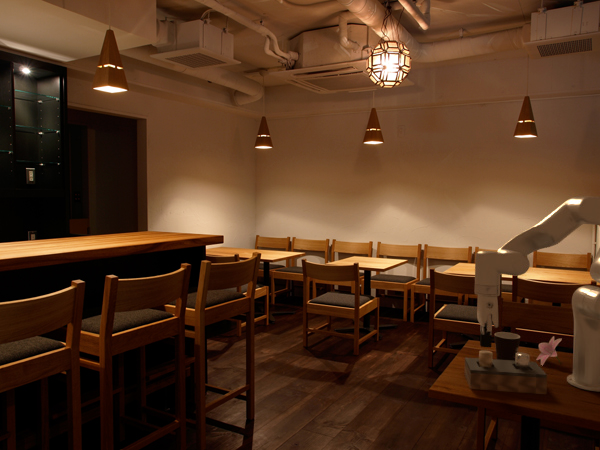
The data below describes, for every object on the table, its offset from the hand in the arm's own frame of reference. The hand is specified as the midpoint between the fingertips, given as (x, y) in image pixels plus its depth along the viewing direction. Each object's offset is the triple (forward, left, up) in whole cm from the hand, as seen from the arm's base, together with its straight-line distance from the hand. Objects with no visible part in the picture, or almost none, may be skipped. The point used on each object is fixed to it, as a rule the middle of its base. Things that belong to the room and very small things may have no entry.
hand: (485, 346), depth 153 cm
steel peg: (-11, 0, -8) cm, 14 cm away
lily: (-26, -25, -12) cm, 38 cm away
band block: (-6, 0, -12) cm, 13 cm away
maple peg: (0, 0, -8) cm, 8 cm away
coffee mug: (-13, -23, -12) cm, 29 cm away
